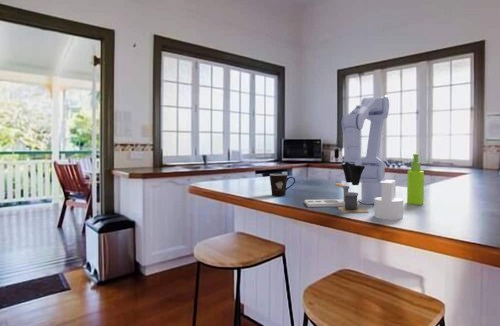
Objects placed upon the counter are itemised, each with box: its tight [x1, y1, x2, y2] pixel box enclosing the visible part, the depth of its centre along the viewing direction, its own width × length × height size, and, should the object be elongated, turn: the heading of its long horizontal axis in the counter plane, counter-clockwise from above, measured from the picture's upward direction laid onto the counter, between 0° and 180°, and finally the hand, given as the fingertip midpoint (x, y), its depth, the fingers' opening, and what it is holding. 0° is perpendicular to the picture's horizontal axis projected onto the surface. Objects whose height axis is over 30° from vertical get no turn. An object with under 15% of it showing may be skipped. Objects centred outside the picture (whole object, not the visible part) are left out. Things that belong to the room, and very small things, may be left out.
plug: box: [343, 191, 359, 210], centre depth 124 cm, size 5×5×6 cm
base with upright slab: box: [373, 179, 404, 221], centre depth 113 cm, size 9×9×12 cm
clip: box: [334, 182, 350, 190], centre depth 141 cm, size 12×3×1 cm, turn 5°
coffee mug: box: [269, 173, 296, 197], centre depth 160 cm, size 12×9×10 cm
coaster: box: [336, 206, 369, 214], centre depth 124 cm, size 9×9×1 cm
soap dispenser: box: [406, 153, 425, 206], centre depth 135 cm, size 6×7×20 cm
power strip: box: [304, 189, 360, 208], centre depth 136 cm, size 20×9×6 cm, turn 89°
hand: (352, 183), depth 124 cm, fingers open, 7 cm apart
